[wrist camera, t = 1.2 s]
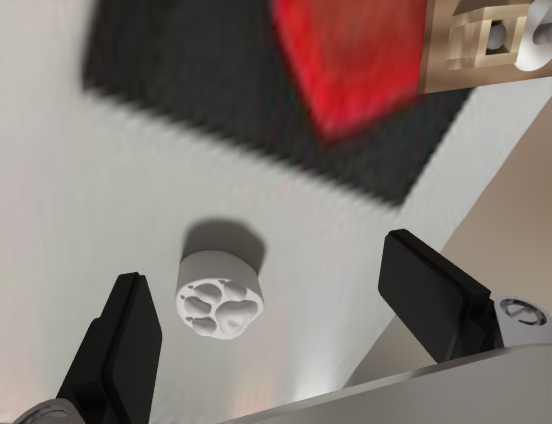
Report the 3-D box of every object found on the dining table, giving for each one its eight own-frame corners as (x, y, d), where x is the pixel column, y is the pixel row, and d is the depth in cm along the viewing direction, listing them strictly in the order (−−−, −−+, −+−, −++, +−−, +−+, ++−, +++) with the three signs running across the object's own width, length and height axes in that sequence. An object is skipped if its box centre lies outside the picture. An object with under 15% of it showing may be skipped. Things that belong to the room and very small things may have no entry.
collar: (451, 16, 37) (485, 7, 33) (492, 12, 38) (530, 3, 34) (444, 70, 40) (474, 68, 36) (482, 65, 41) (515, 62, 37)
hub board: (428, -5, 37) (465, -21, 32) (573, -16, 41) (628, -31, 36) (417, 93, 42) (448, 94, 37) (547, 75, 46) (592, 74, 41)
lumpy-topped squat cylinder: (227, 313, 51) (231, 354, 43) (163, 282, 46) (155, 322, 38) (264, 273, 49) (275, 308, 42) (202, 236, 44) (202, 268, 36)
